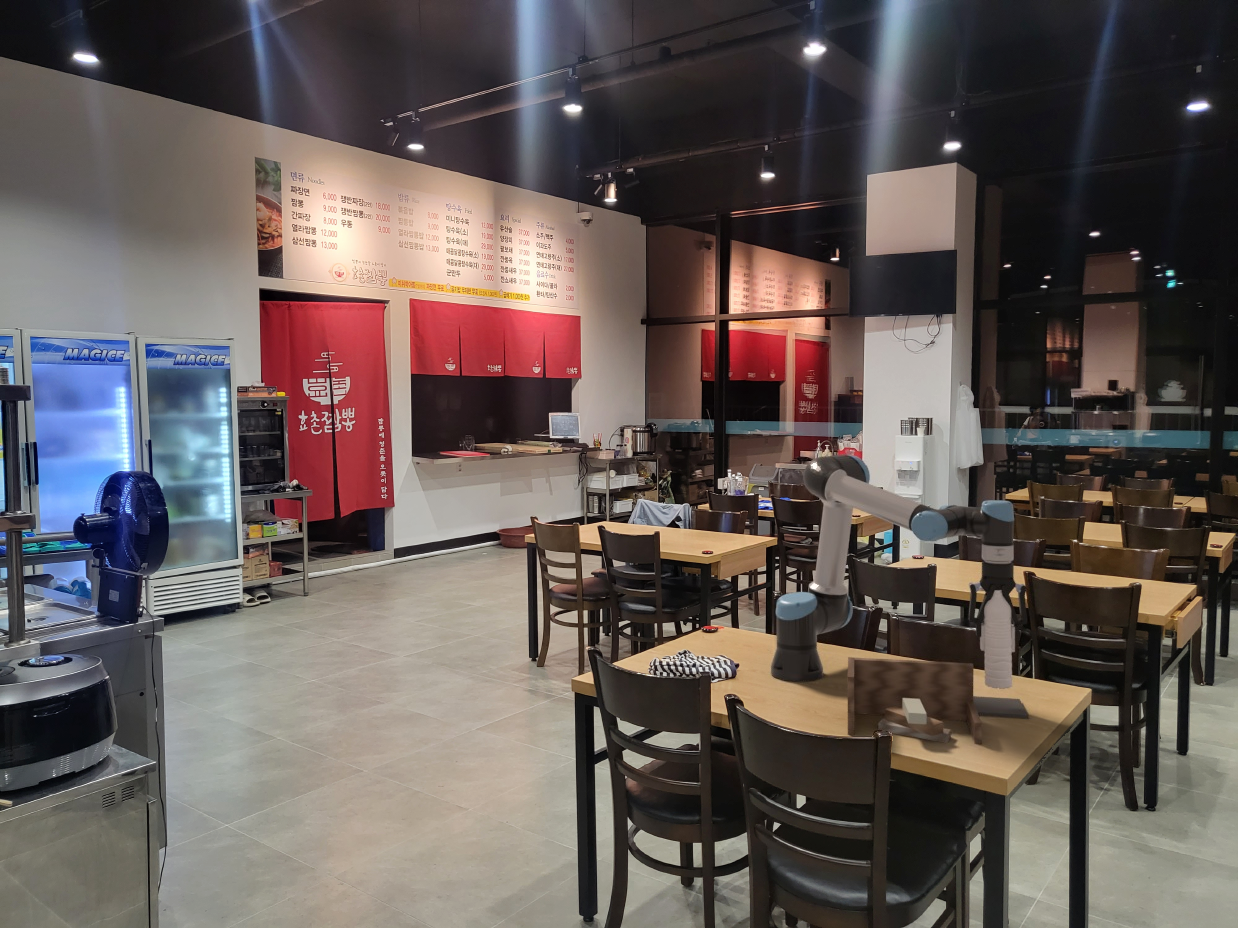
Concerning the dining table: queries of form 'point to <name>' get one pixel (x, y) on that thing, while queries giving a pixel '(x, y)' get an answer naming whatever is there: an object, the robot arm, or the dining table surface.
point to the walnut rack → (913, 689)
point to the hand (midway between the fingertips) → (997, 649)
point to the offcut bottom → (912, 731)
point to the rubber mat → (1000, 707)
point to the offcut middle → (929, 728)
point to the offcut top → (914, 711)
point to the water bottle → (998, 642)
